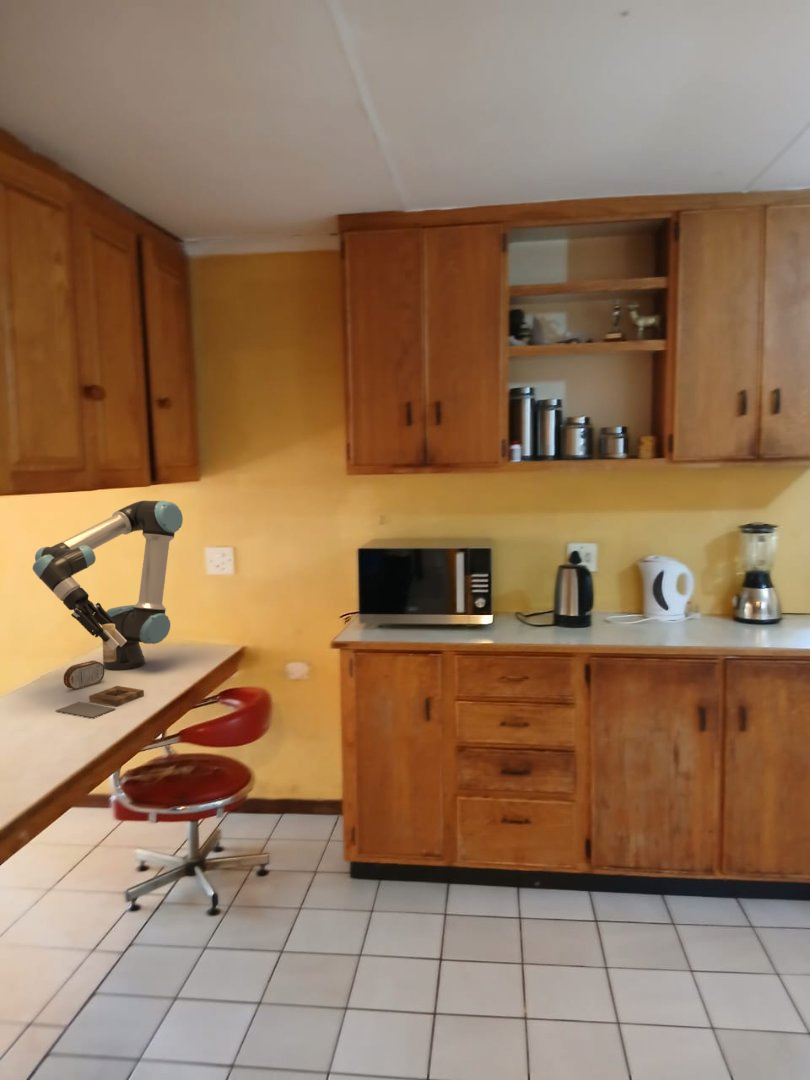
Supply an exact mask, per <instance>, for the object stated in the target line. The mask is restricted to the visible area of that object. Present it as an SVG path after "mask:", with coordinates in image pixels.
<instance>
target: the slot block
mask: <svg viewBox="0 0 810 1080" xmlns="http://www.w3.org/2000/svg"><path fill="white" fill-rule="evenodd" d="M139 697H140V698H141V697H145V690H144V689H140V688H133V687H127V686H120V685H115V686H112V687H110V688H107V689H105V690H102V691H98V692H96V693H93V694H91V695H89V696H88V699H89V702H90V703H94V702H95V703H96V704H99V703H100V704H101V705H105V706H106V705H107V706H110V707H111V706H113V707H115V708H116V707H120V706H122V705H124V704H126V703H129V702H132V701H134V699H135V700H136V699H140V698H139ZM89 702H88V703H89Z"/></svg>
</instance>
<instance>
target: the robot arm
mask: <svg viewBox="0 0 810 1080" xmlns="http://www.w3.org/2000/svg"><path fill="white" fill-rule="evenodd" d="M183 520H184V518H183V514H182V511H181V509H180V507H179V506H178V505H177V504H176V503H174V502H172V501H166V500H139V501H136V502H133V503H131V504H129V505H126V506H124V507H122V508H120V509H118V510H116V511H115V512H113V513H112V516H110V517H108V518H107V519H104V520H102V521H101V522H99V523H97V524H95V525H93V526H91V527H88V528H87V529H85V530H83V531H80V532H79V533H76V534H75V535H73V536H71V537H69V538H67V539H65V540H63V541H61V542H58V543H57V544H55V545H52V546H44V547H40V548H39V549H37V551H36V553H35V556H34V561H35V562H34V563H33V565H32V570H33V572H34V574H35V575H36V576H37V578H38V579H39V580H40V581H42V583H43V584H44V585H46V587H47V588H48V589H50V591H51V592H52V593H53V594H55V596H56V597H57V598H58V599H59V600H60V601H61V602H62V603H63V605H64V606H65V607H66V608H67V609H68V610H69V611H73V612H72V613H71V617H72V618H73V619H75V620H77V621H78V623H79V624H80V625H81V626H83V628H84V629H85V630H86V631H87V632H88V633H89V634H90V635H91V636H93V637H94V638H100V639H102V642H103V641H104V642H105V643H106V644H107V645H108V646H109V647H110V648H111V649H112V650H115V648H116V661H114V662H103V661H102V662H103V663H102V664H103V666H104V669H106V670H109V671H124V670H123V669H125V670H131V669H130V668H132V669H136V668H139V667H138V666H140V667H141V665H142V664H144V663H146V658H145V655H144V653H143V650H142V648H141V645H140V643H143V644H145V645H146V644H147V645H151V644H152V645H155V644H158V643H161V642H162V641H163V640H164V639H166V637H167V636H168V635H169V632H170V630H171V620H170V619H169V616H168V615H166V610H167V609H166V607H165V606H164V605H163V604H164V603H163V600H164V591H165V590H164V589H165V583H166V575H167V567H168V556H169V549H170V541H172V540H174V539H175V533H177V532H178V531H179V530H180V529H181V528H182V525H183ZM139 531H140V532H141V531H142V536H143V537H144V538H145V543H144V544H145V545H144V550H143V551H144V552H143V560H142V561H143V562H142V569H141V575H140V576H141V578H140V587H139V593H138V602H137V603H135V604H132V605H131V604H129V605H122V606H117V607H112V608H109V609H107V610H105V609H104V608H103V607H102V605H101V603H100V602H97V603H96V604H94V603H93V602H92V601H91V600H90V599H89V597H90V596H89V593H88V592H87V591H86V590H85V589H84V588H83V587H81V585H80V584H79V583H78V581H76V579H74V578H73V576H74V575H76V574H78V573H80V572H82V571H83V570H86V569H88V568H89V567H90V566H93V565H94V564H95V562H96V558H97V557H96V554H95V552H94V550H95V549H97V548H99V547H100V546H102V545H104V544H106V543H108V542H110V541H111V540H114V539H115V538H118V537H119V536H121V535H126V536H127V535H129V534H131V533H133V532H139ZM103 624H115V636H116V640H115V639H114V638H113V637H112V636H111V635H110V634H109V633H108V632H107V631H106V630H104V632H103V629H102V625H103ZM142 666H143V665H142ZM135 667H136V668H135Z"/></svg>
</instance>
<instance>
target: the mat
mask: <svg viewBox="0 0 810 1080" xmlns="http://www.w3.org/2000/svg"><path fill="white" fill-rule="evenodd" d="M56 711H58V712H57V713H60V712H62V713H61V714H65V713H68V714H67V715H70V714H73V715H72V716H76V715H79V716H78V717H81V716H83V718H86V717H89V718H88V719H91V718H93V719H96V718H98V717H101V716H104V715H106V714H108V713H110V712H114V711H116V707H111V706H106V705H105V706H104V705H99V704H93V703H89V702H81V701H77V702H74V703H72V704H69V705H66V706H64V707H61V708H57V709H55V712H56ZM103 714H104V715H103ZM97 716H98V717H97ZM95 717H96V718H95Z"/></svg>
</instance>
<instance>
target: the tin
mask: <svg viewBox="0 0 810 1080" xmlns="http://www.w3.org/2000/svg"><path fill="white" fill-rule="evenodd" d="M105 671H106V670H105V668H104V666H103V663H102V662H100V661H97V660H88V661H86V662H81V663H77V664H73V665H71V666H70V667H68V668H67V669H66V670H65V672H64V674H63V684H64V686H65V687H67V688H68V689H72V690H80V689H83V687H84V688H87V687H90V685H91V686H94V685H97V684H98V683H99V684H100V682H101V681H102V680H103V679H104V677H105ZM93 684H94V685H93Z"/></svg>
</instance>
